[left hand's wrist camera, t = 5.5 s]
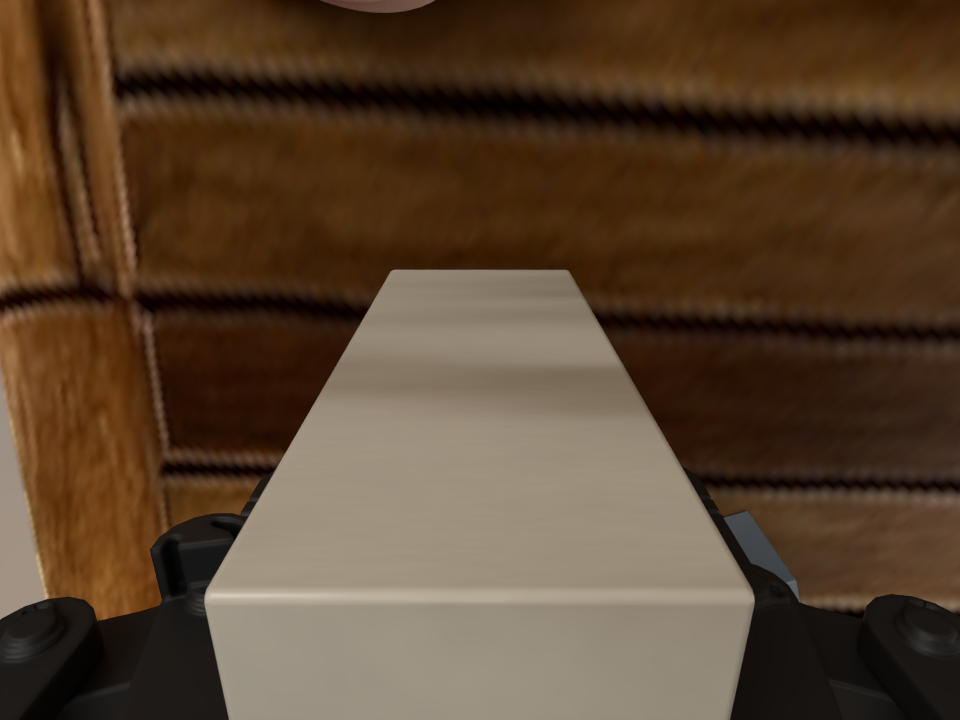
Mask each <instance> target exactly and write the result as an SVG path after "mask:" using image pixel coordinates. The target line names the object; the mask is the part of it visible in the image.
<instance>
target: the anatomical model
mask: <svg viewBox="0 0 960 720" xmlns="http://www.w3.org/2000/svg"><path fill="white" fill-rule="evenodd" d="M320 1H323V2H327V3H330V4H333V5H336V6H340V7H343V8H348V9H353V10H358V11H365V12H374V13H392V12H401V11H408V10H411V9H415V8H419V7H422V6H424V5H427V4H429V3H431V2H433V1H434V0H320Z"/></svg>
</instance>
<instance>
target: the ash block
mask: <svg viewBox="0 0 960 720" xmlns="http://www.w3.org/2000/svg"><path fill="white" fill-rule="evenodd" d="M204 604H205V609H206V614H207V618H208V623H209V628H210V632H211V637H212V642H213V646H214V651H215V656H216V660H217V665H218V670H219V674H220V679H221V684H222V689H223V693H224V698H225V703H226V707H227V712H228V717H229V720H730V717H731V712H732V708H733V703H734V698H735V694H736V689H737V684H738V679H739V675H740V670H741V665H742V661H743V656H744V651H745V647H746V642H747V637H748V633H749V628H750V623H751V618H752V614H753V609H754V604H755V596H754V593H753V590H752V588H751V586H750V585H749V583H748V581H747V579H746V578H745V576H744V574H743V572H742V571H741V569H740V567H739V565H738V564H737V562H736V560H735V559H734V557H733V555H732V553H731V552H730V550H729V548H728V546H727V545H726V543H725V541H724V539H723V538H722V536H721V534H720V532H719V531H718V529H717V527H716V526H715V524H714V522H713V520H712V519H711V517H710V515H709V513H708V512H707V510H706V508H705V506H704V505H703V503H702V501H701V500H700V498H699V496H698V494H697V493H696V491H695V489H694V487H693V486H692V484H691V482H690V480H689V479H688V477H687V475H686V474H685V472H684V470H683V468H682V467H681V465H680V463H679V461H678V460H677V458H676V456H675V454H674V453H673V451H672V449H671V447H670V446H669V444H668V442H667V441H666V439H665V437H664V435H663V434H662V432H661V430H660V428H659V427H658V425H657V423H656V421H655V420H654V418H653V416H652V415H651V413H650V411H649V409H648V408H647V406H646V404H645V402H644V401H643V399H642V397H641V395H640V394H639V392H638V390H637V389H636V387H635V385H634V383H633V382H632V380H631V378H630V376H629V375H628V373H627V371H626V369H625V368H624V366H623V364H622V362H621V361H620V359H619V357H618V356H617V354H616V352H615V350H614V349H613V347H612V345H611V343H610V342H609V340H608V338H607V336H606V335H605V333H604V331H603V330H602V328H601V326H600V324H599V323H598V321H597V319H596V317H595V316H594V314H593V312H592V310H591V309H590V307H589V305H588V304H587V302H586V300H585V298H584V297H583V295H582V293H581V291H580V290H579V288H578V286H577V284H576V283H575V281H574V279H573V277H572V276H571V274H570V272H569V271H567V270H393V271H391V272H390V274H389V276H388V277H387V279H386V281H385V283H384V284H383V286H382V288H381V289H380V291H379V293H378V295H377V296H376V298H375V300H374V302H373V303H372V305H371V307H370V308H369V310H368V312H367V314H366V315H365V317H364V319H363V320H362V322H361V324H360V326H359V327H358V329H357V331H356V333H355V334H354V336H353V338H352V339H351V341H350V343H349V345H348V346H347V348H346V350H345V352H344V353H343V355H342V357H341V358H340V360H339V362H338V364H337V365H336V367H335V369H334V371H333V372H332V374H331V376H330V377H329V379H328V381H327V383H326V384H325V386H324V388H323V389H322V391H321V393H320V395H319V396H318V398H317V400H316V402H315V403H314V405H313V407H312V408H311V410H310V412H309V414H308V415H307V417H306V419H305V421H304V422H303V424H302V426H301V427H300V429H299V431H298V433H297V434H296V436H295V438H294V439H293V441H292V443H291V445H290V446H289V448H288V450H287V452H286V453H285V455H284V457H283V458H282V460H281V462H280V464H279V465H278V467H277V469H276V471H275V472H274V474H273V476H272V477H271V479H270V481H269V483H268V484H267V486H266V488H265V490H264V491H263V493H262V495H261V496H260V498H259V500H258V502H257V503H256V505H255V507H254V508H253V510H252V512H251V514H250V515H249V517H248V519H247V521H246V522H245V524H244V526H243V527H242V529H241V531H240V533H239V534H238V536H237V538H236V540H235V541H234V543H233V545H232V546H231V548H230V550H229V552H228V553H227V555H226V557H225V558H224V560H223V562H222V564H221V565H220V567H219V569H218V571H217V572H216V574H215V576H214V577H213V579H212V581H211V583H210V584H209V586H208V588H207V590H206V593H205V596H204Z"/></svg>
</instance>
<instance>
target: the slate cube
mask: <svg viewBox="0 0 960 720" xmlns="http://www.w3.org/2000/svg"><path fill="white" fill-rule="evenodd" d="M724 520H725V521H726V523H727V524H728V526H729V528H730V529H731V531H732V533H733V534H734V536H735V538H736V539H737V541H738V543H739V544H740V546H741V547H742V549H743V551H744V552H745V554H746V556H747V557H748V559H749V561H750V562H751V564H755V565H758V566H760V567H762V568H764V569H766V570H768V571H770V572H772V573H774V574H775V575H777V576H778V577H779V578H780V579H782V580H783V581H784V582H785V583H787V584H788V585H789V586H790V588H791V589H792V591H793V592H794V594H795V595H796V597H797V598H798V600H799V602H800V603H801V601H800V596H799V591H798V587H797V582H796V580H795V578H794V577H793V575H792V574H791V572H790V571H789V569H788V568H787V567H786V565H785V564H784V562H783V561H782V559H781V558H780V557H779V555H778V554H777V552H776V551H775V549H774V548H773V546H772V545H771V544H770V542H769V541H768V539H767V538H766V536H765V535H764V534H763V532H762V531H761V529H760V528H759V526H758V525H757V523H756V522H755V521H754V519H753V518H752V516H751V515H750V513H749V512H748V511H744V512H741V513H738V514H734V515H731V516H727V517H724Z"/></svg>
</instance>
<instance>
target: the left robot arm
mask: <svg viewBox="0 0 960 720" xmlns="http://www.w3.org/2000/svg"><path fill="white" fill-rule="evenodd" d="M681 467H682V468H683V470H684V472H685V474H686V475H687V477H688V479H689V480H690V482H691V484H692V486H693V487H694V489H695V491H696V493H697V494H698V496H699V498H700V500H701V501H702V503H703V505H704V506H705V508H706V510H707V512H708V513H709V515H710V517H711V519H712V520H713V522H714V524H715V526H716V527H717V529H718V531H719V532H720V534H721V536H722V538H723V539H724V541H725V543H726V545H727V546H728V548H729V550H730V552H731V553H732V555H733V557H734V559H735V560H736V562H737V564H738V565H739V567H740V569H741V571H742V572H743V574H744V576H745V578H746V579H747V581H748V583H749V585H750V586H751V588H752V590H753V593H754V596H755V604H754V609H753V614H752V618H751V623H750V628H749V633H748V637H747V642H746V647H745V651H744V656H743V661H742V665H741V670H740V675H739V679H738V684H737V689H736V694H735V698H734V703H733V708H732V712H731V717H730V720H960V617H959V616H958V615H956V614H954V613H952V612H950V611H948V610H947V609H945V608H943V607H941V606H939V605H937V604H935V603H931V602H928V601H925V600H922V599H919V598H916V597H913V596H904V595H895V594H890V595H885V596H880V597H876V598H875V599H873V600H872V601H871V602H870V603H869V604H868V605H867V607H866V610H865V613H864V617H863V619H862V618H857V617H853V616H848V615H844V614H840V613H835V612H831V611H827V610H822V609H818V608H815V607H812V606H808V605H805V604H802V603H800V602H799V600H798V598H797V597H796V595H795V594H794V592H793V591H792V589H791V588H790V586H789V585H788V584H787V583H785V582H784V581H783V580H782V579H780V578H779V577H778V576H777V575H775V574H774V573H772V572H770V571H768V570H766V569H764V568H762V567H760V566H758V565H755V564H751V562H750V561H749V559H748V557H747V556H746V554H745V552H744V551H743V549H742V547H741V546H740V544H739V543H738V541H737V539H736V538H735V536H734V534H733V533H732V531H731V529H730V528H729V526H728V524H727V523H726V521H725V520H724V518H723V516H722V515H721V514H719V510H718V508H717V506H716V505H715V503H714V501H713V500H711V499H710V495H709V493H708V492H707V490H706V488H705V487H704V485H703V483H702V482H701V480H700V479H699V478H698V477H697V476H695V475H694V474H693V473H691V472H690V471H689V470H687V469H686V468H685V467H683V466H682V465H681ZM275 471H276V469H275V470H274V471H273V472H271V473H270V474H269V475H267V476H266V477H265V478H263V479H262V480H261V481H260V482H259V484H258V485H257V487H256V488H255V490H254V492H253V493H252V495H251V497H250V501H249V502H247V503H246V505H245V507H244V508H243V510H242V512H241V516H240V515H236V514H233V513H214V514H209V515H205V516H200V517H195V518H192V519H190V520H188V521H185V522H183V523H181V524H178V525H176V526H174V527H173V528H171V529H170V530H169V531H167V532H166V533H164V534H163V535H162V536H160V537H159V538H158V540H157V541H156V542H155V544H154V545H153V546H152V548H151V549H150V553H151V557H152V561H153V565H154V569H155V573H156V577H157V581H158V585H159V589H160V593H161V597H162V602H161V604H160V605H159V606H156V607H153V608H150V609H147V610H143V611H140V612H135V613H131V614H127V615H122V616H118V617H114V618H109V619H105V620H101V621H97V618H96V615H95V612H94V608H93V607H91V606H90V605H89V604H88V603H87V602H86V601H85V600H82V599H77V598H72V597H62V598H53V599H46V600H43V601H40V602H37V603H34V604H31V605H28V606H25V607H23V608H21V609H19V610H17V611H15V612H13V613H12V614H10V615H8V616H6V617H4V618H2V619H1V620H0V720H229V717H228V712H227V707H226V703H225V698H224V693H223V689H222V684H221V679H220V674H219V670H218V665H217V660H216V656H215V651H214V646H213V642H212V637H211V632H210V628H209V623H208V618H207V614H206V609H205V604H204V596H205V593H206V590H207V588H208V586H209V584H210V583H211V581H212V579H213V577H214V576H215V574H216V572H217V571H218V569H219V567H220V565H221V564H222V562H223V560H224V558H225V557H226V555H227V553H228V552H229V550H230V548H231V546H232V545H233V543H234V541H235V540H236V538H237V536H238V534H239V533H240V531H241V529H242V527H243V526H244V524H245V522H246V521H247V519H248V517H249V515H250V514H251V512H252V510H253V508H254V507H255V505H256V503H257V502H258V500H259V498H260V496H261V495H262V493H263V491H264V490H265V488H266V486H267V484H268V483H269V481H270V479H271V477H272V476H273V474H274V472H275Z"/></svg>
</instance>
